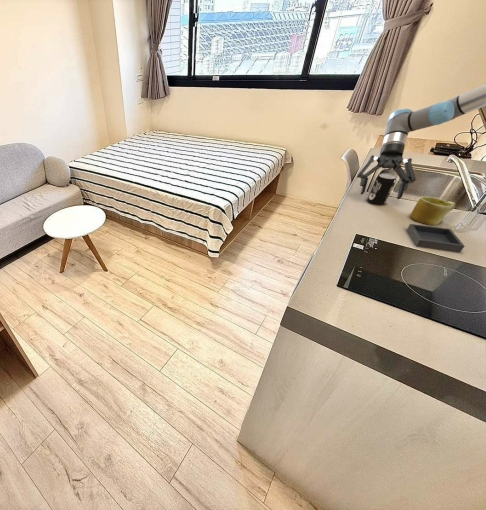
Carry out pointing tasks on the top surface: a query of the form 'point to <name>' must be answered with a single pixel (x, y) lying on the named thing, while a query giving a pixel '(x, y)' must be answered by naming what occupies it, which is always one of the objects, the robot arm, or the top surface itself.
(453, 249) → the dark grey tray
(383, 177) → the beverage can
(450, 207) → the mug
